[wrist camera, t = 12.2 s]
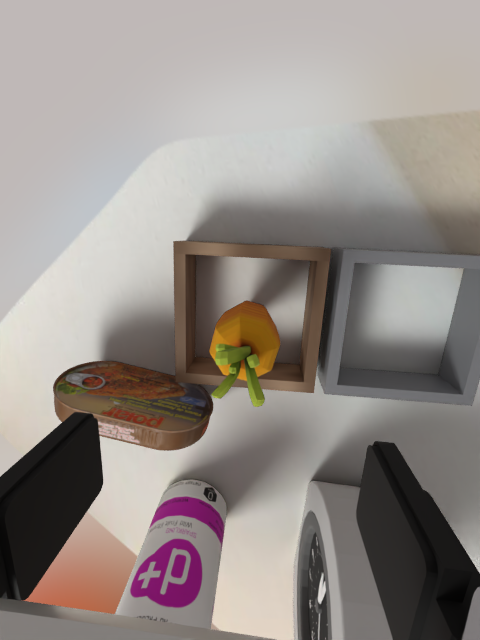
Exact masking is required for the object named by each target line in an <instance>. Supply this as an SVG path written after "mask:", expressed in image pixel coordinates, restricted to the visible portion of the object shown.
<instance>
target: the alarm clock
mask: <svg viewBox="0 0 480 640" xmlns="http://www.w3.org/2000/svg"><path fill="white" fill-rule="evenodd" d="M359 492H360V487H356V486H349V485H341V484H334V483H326V482H319V481H311V482H310V483H309V485H308V490H307V495H306V501H305V506H304V512H303V517H302V523H301V528H300V533H299V539H298V544H297V550H296V555H295V561H294V579H293V618H294V640H393V638H392V635H391V632H390V628H389V625H388V622H387V619H386V615H385V612H384V609H383V606H382V602H381V599H380V596H379V592H378V589H377V586H376V583H375V579H374V576H373V573H372V570H371V566H370V563H369V560H368V557H367V553H366V550H365V547H364V543H363V540H362V537H361V534H360V530H359V527H358V524H357V519H356V509H357V503H358V498H359Z"/></svg>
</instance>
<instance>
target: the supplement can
mask: <svg viewBox="0 0 480 640" xmlns="http://www.w3.org/2000/svg"><path fill="white" fill-rule="evenodd" d="M226 515H227V509H226V503H225V501H224V499H223V497H222V495H221V494H220V493H219V492H218V491H217V490H216V489H215V488H214V487H213V486H211V485H209V484H207V483H205V482H204V481H199V480H194V479H191V480H183V481H179V482H176V483H174V484H172V485H170V486H169V487H168V488H167V489H166V490H165V491H164V492H163V495H162V497H161V500H160V502H159V505H158V507H157V510H156V512H155V515H154V518H153V520H152V523H151V525H150V528H149V530H148V533H147V535H146V538H145V540H144V543H143V545H142V548H141V550H140V553H139V555H138V558H137V561H136V563H135V566H134V568H133V571H132V573H131V576H130V578H129V580H128V583H127V585H126V588H125V590H124V593H123V595H122V598H121V600H120V603H119V605H118V608H117V610H116V613H115V614H116V615H122V616H129V617H135V618H142V619H148V620H155V621H161V622H168V623H174V624H181V625H187V626H194V627H200V628H206V629H211V623H212V615H213V608H214V601H215V594H216V587H217V580H218V572H219V565H220V558H221V551H222V544H223V537H224V530H225V522H226Z"/></svg>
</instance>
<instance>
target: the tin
mask: <svg viewBox="0 0 480 640" xmlns="http://www.w3.org/2000/svg"><path fill="white" fill-rule="evenodd" d="M53 391H54V404H55V412H56V415H57V416H58V418H59V419H60V420H61V422H63V421H65V420H66V419H67V418H68V417H69V416H70V415H71V414H73V413H74V412H83V413H91V414H93V416H94V418H96V419H97V420H98V427H99V436H103V437H107V438H111V439H115V440H119V441H123V442H127V443H131V444H136V445H140V446H144V447H148V448H152V449H156V450H178V449H182V448H185V447H188V446H190V445H192V444H194V443H195V442H197V441H198V440H199V439H200V438H201V437H202V436H203V435H204V433H205V431H206V429H207V427H208V423H209V419H210V416H211V414H212V411H213V401H212V398H211V396H210V395H209V393H208V392H207V391H206V390H205V389H204V388H203V387H201V386H200V385H198V384H193V383H181V382H176V376H172V375H168V374H164V373H160V372H156V371H152V370H148V369H144V368H140V367H136V366H132V365H128V364H124V363H119V362H113V361H96V362H89V363H84V364H80V365H77V366H75V367H72V368H70V369H68V370H67V371H65V372H63V373H62V374H61V375H60V376H59V377H58V378H57V379H56V381H55V383H54V386H53Z"/></svg>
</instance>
